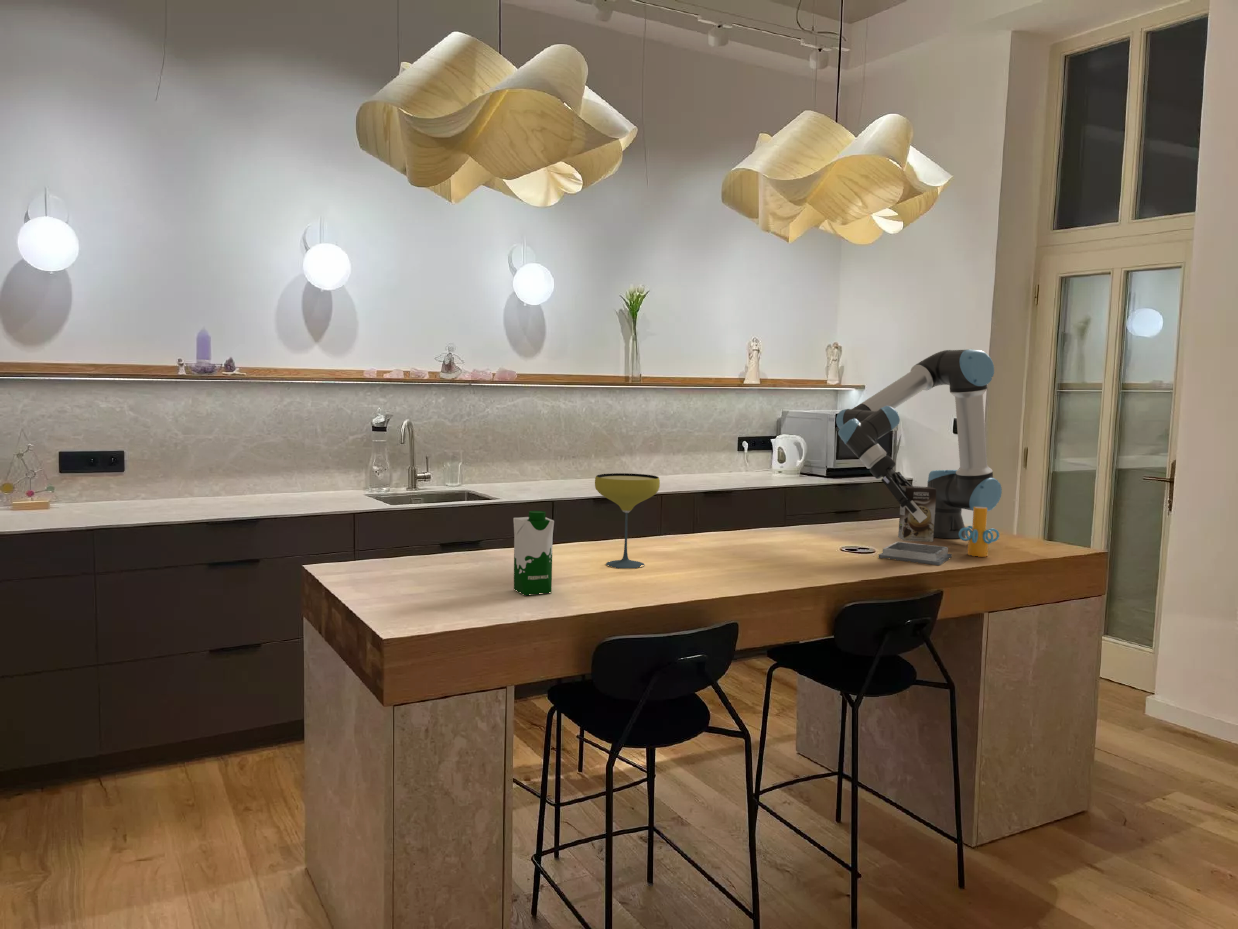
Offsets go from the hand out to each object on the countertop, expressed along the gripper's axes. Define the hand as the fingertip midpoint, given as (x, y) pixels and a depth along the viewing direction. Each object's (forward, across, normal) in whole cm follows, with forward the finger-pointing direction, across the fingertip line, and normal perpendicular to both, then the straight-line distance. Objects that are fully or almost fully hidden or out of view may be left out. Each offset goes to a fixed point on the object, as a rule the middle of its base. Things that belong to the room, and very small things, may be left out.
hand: (927, 518), depth 282 cm
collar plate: (+7, 0, -11) cm, 13 cm away
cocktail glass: (-38, +64, -56) cm, 94 cm away
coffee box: (+3, 0, -7) cm, 8 cm away
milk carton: (-39, +106, -57) cm, 127 cm away
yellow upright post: (+17, -16, 0) cm, 24 cm away
